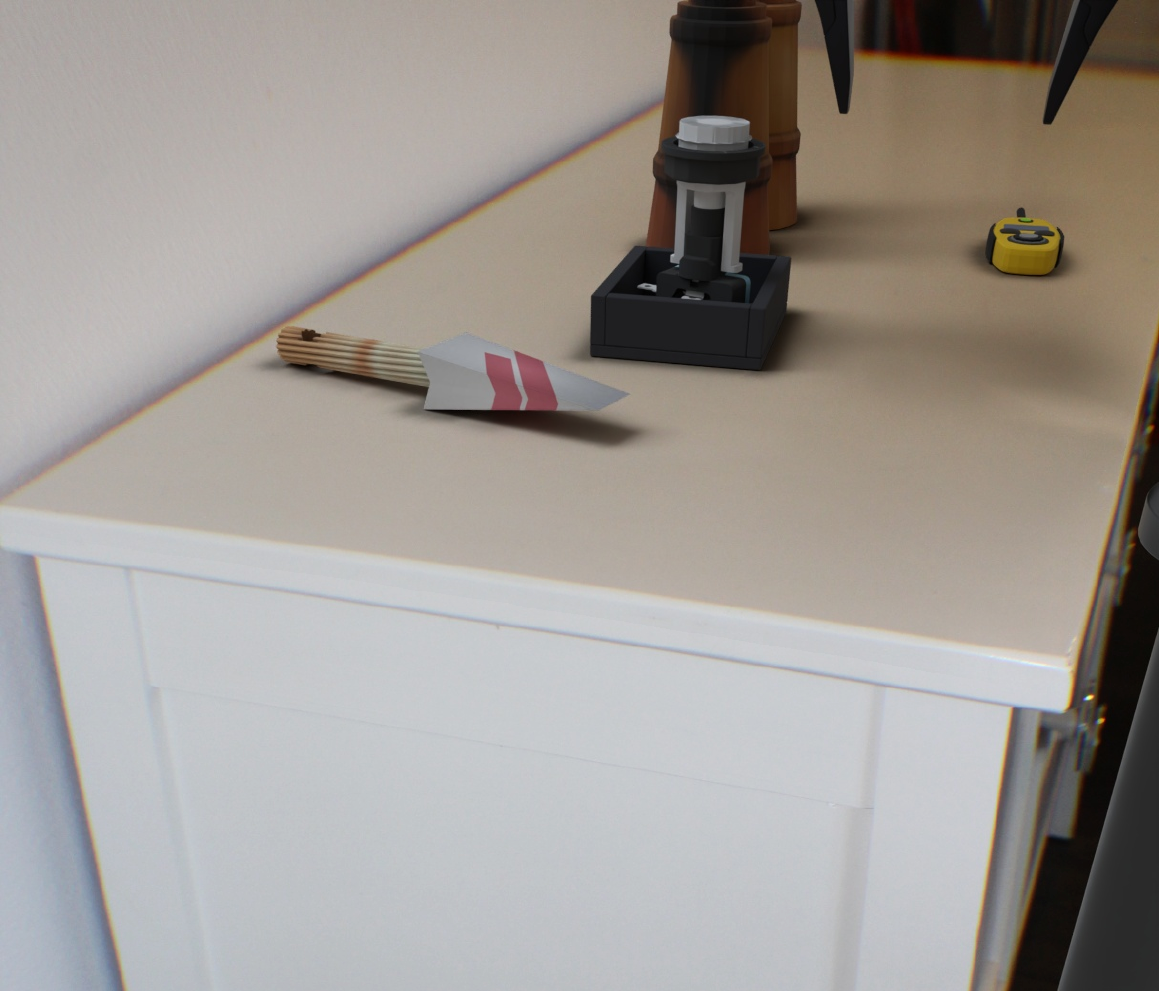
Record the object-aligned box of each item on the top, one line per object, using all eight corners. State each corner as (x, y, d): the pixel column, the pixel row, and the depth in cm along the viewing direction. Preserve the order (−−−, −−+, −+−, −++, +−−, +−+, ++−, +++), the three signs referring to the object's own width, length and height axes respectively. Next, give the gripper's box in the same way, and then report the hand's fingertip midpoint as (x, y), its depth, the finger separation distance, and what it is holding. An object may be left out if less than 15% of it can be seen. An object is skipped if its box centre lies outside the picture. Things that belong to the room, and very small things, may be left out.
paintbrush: (590, 380, 62) (258, 325, 72) (591, 442, 64) (267, 380, 73) (636, 358, 65) (311, 307, 74) (637, 418, 67) (318, 360, 76)
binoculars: (755, 270, 90) (785, -113, 78) (630, 259, 92) (641, -117, 80) (807, 210, 104) (839, -123, 93) (697, 201, 106) (715, -126, 94)
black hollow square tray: (786, 313, 83) (791, 256, 81) (760, 370, 74) (765, 308, 72) (632, 301, 84) (634, 245, 82) (589, 356, 76) (590, 295, 74)
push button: (615, 323, 78) (620, 120, 72) (663, 302, 82) (672, 107, 76) (722, 344, 76) (736, 135, 70) (767, 321, 79) (785, 120, 73)
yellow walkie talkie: (990, 241, 89) (988, 190, 101) (984, 273, 90) (983, 220, 102) (1069, 246, 89) (1059, 195, 100) (1063, 278, 90) (1053, 224, 101)
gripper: (1231, -307, 61) (1142, 101, 71) (797, -306, 65) (766, 83, 74) (1268, -328, 53) (1160, 141, 62) (764, -326, 56) (734, 118, 65)
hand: (944, 118), depth 66 cm, fingers open, 9 cm apart
